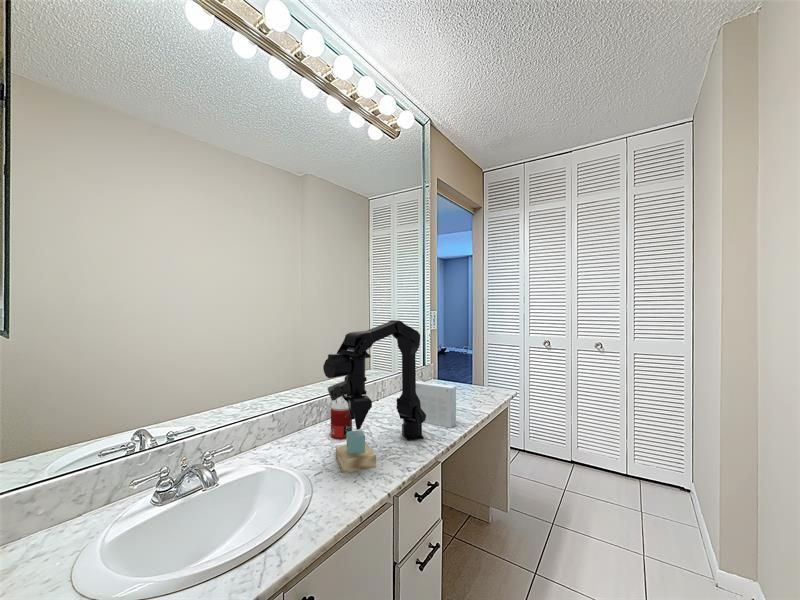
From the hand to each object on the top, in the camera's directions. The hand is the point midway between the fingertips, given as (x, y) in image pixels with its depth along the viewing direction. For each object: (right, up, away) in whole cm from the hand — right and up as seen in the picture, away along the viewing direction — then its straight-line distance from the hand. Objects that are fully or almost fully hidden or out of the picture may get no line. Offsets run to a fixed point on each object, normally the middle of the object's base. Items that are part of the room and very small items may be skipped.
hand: (355, 424), depth 103 cm
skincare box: (+27, -13, +37) cm, 47 cm away
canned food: (-8, -12, +21) cm, 26 cm away
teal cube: (0, -8, 0) cm, 8 cm away
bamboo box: (0, -12, 0) cm, 12 cm away
